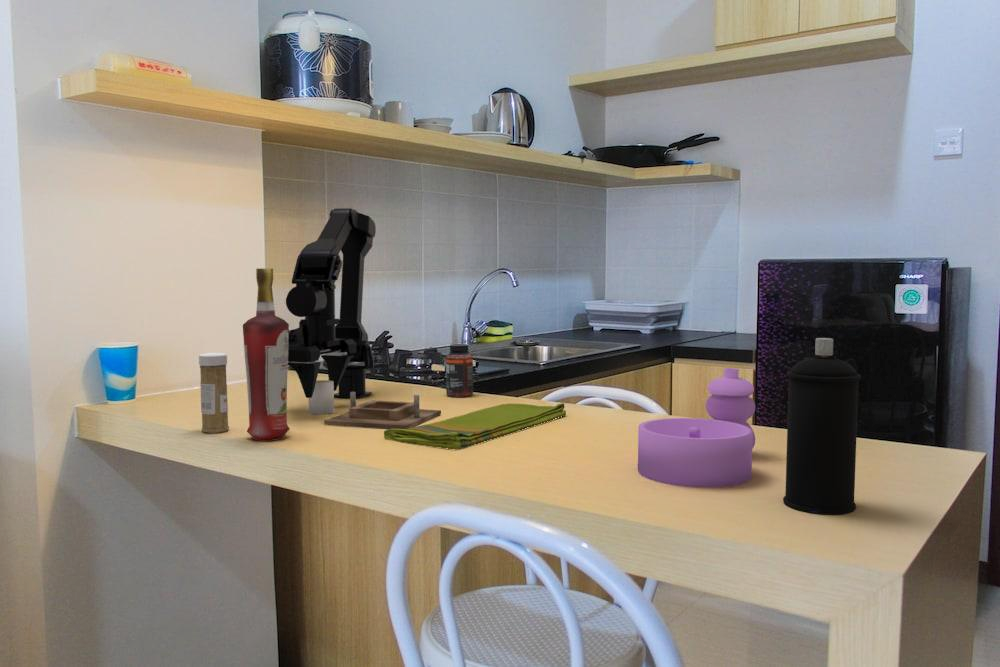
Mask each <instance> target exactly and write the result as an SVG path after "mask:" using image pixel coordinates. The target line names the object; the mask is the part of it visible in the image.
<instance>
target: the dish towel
mask: <svg viewBox="0 0 1000 667" xmlns="http://www.w3.org/2000/svg"><path fill="white" fill-rule="evenodd" d="M564 415H567V411H566V410H565V403H564V402H562V403H558V404H556V405H555V406H554V405H553V406H552V405H535V404H527V403H526V404H525V403H511V402H510V403H505V404H504V403H501V404H497V405H495V406H490V407H485V408H482V409H478V410H475V411H470V412H468V413H465V414H461V415H458V416H453V417H450V418H447V419H444V420H440V421H435V422H431V423H426V424H422V425H417V426H414V427H412V428H408V429H385V430H384V431H383V437H384V439H385V440H386V441H387V440H388V441H393V442H398V441H399V443H404V442H407V443H406V444H410V443H413V444H412V445H416V444H419V445H418V446H423V445H426V446H425V447H429V446H434V447H433V448H436V447H441V448H440V449H442V448H448V449H447V450H449V449H459V450H462V449H466V448H469V447H468V446H470V447H472V446H471V445H473V446H475V445H474V444H476V445H479V444H478V443H480V444H482V443H481V442H483V443H485V442H484V441H486V442H488V441H487V440H489V441H491V440H490V439H492V440H495V439H494V438H496V439H498V438H497V437H499V438H501V437H500V436H502V437H505V436H504V435H506V436H508V435H507V434H509V435H511V434H510V433H512V434H514V433H513V432H515V433H517V432H516V431H518V430H522V429H525V428H527V427H531V426H534V425H538V424H541V423H544V422H547V421H550V420H553V419H555V418H558V417H561V416H564ZM564 417H565V416H564ZM553 421H554V420H553ZM550 422H551V421H550ZM547 423H548V422H547ZM544 424H545V423H544ZM541 425H542V424H541ZM538 426H539V425H538ZM531 428H532V427H531ZM525 430H526V429H525ZM522 431H523V430H522ZM518 432H519V431H518ZM465 447H466V448H465ZM461 448H462V449H461Z"/></svg>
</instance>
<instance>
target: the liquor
mask: <svg viewBox="0 0 1000 667" xmlns="http://www.w3.org/2000/svg"><path fill="white" fill-rule="evenodd" d="M255 275H256V276H255V277H256V278H255V279H256V283H257V284H256V285H257V297H256V298H257V299H256V312H255V314H256V315H255V316H253V317H251V318H249V319H247V321H246V322H244V323H243V324H242V336H243V352H244V364H245V373H246V374H245V375H246V385H247V386H246V388H247V403H248V424H249V426H248V428H247V430H246V432H247V434H249V435H250V436H251V437H252V439H254V440H255V441H268V442H269V441H276V440H281V439H282V438H283V437H284V436H285V435H286V434H287V433H288V432H289V431H290V426H289V425H288V423H287V422H288V421H287V420H288V419H287V418H288V416H287V415H288V414H287V413H288V410H287V408H288V406H287V403H288V402H287V401H288V367H289V365H288V338H289V330H290V329H289V328H290V324H289V323H288V322H287V321H286V320H285V319H283V318H282V317H279V316H277V315H276V311H275V303H274V301H275V300H274V295H273V282H274V268H256V269H255Z"/></svg>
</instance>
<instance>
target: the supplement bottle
mask: <svg viewBox="0 0 1000 667" xmlns="http://www.w3.org/2000/svg"><path fill="white" fill-rule="evenodd" d="M473 361H474V357H473V355H472V354H471V353H470V352H469V344H468V343H452V344H450V345H449V353H448V354H447V355H446V357H445V382H446V383H445V385H446V386H445V387H446V388H445V392H446V396H448V397H449V398H451V397H453V398H467V397H471V396H473V394H474V362H473Z"/></svg>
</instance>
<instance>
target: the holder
mask: <svg viewBox="0 0 1000 667" xmlns="http://www.w3.org/2000/svg"><path fill="white" fill-rule="evenodd" d="M349 400H350V403H349V404H350V408H348V412H345V413H342V414H341V413H340V414H338V415H336V416H333V417H330V418H327V419H325V420H324V425H327V426H340V427H354V428H367V429H381V430H382V429H383V430H389V429H408V428H412V427H417V426H420V425H421V424H423V423H425V422H428V421H430V420H432V419H434V418H436V416H437V417H438V415H439V416H441V415H442V410H440V409H424V408H423V409H421V408H420V395H419V394H415V395H413V402H411V401H410V402H409V401H408V402H407V401H391V400H390V401H389V400H376V399H375V400H373V399H372V400H370V401H367V402H364V403H362V404H359V405H357V401H356V400H357V398H356V392H350V398H349ZM440 414H441V415H440Z"/></svg>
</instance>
